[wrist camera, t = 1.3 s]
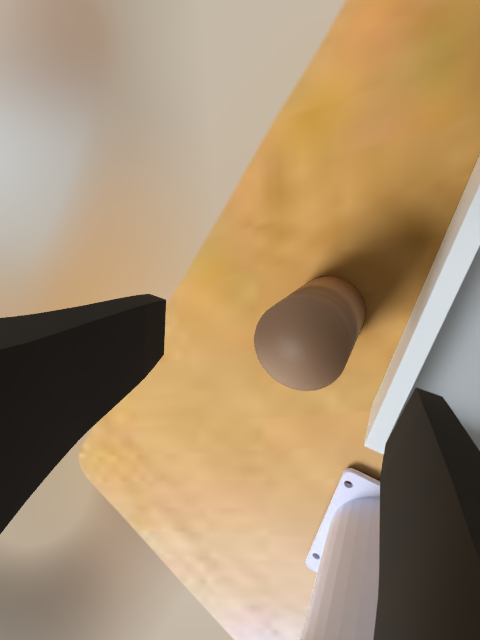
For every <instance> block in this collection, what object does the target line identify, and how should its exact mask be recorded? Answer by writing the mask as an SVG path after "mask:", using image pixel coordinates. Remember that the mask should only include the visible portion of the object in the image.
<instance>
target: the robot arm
mask: <svg viewBox="0 0 480 640" xmlns="http://www.w3.org/2000/svg"><path fill="white" fill-rule="evenodd" d="M165 312H166V300H165V299H162V298H159V297H156V296H153V295H150V294H145V295H136V296H130V297H124V298H119V299H114V300H109V301H104V302H99V303H94V304H89V305H84V306H79V307H73V308H67V309H62V310H56V311H50V312H44V313H38V314H31V315H24V316H17V317H6V318H0V534H1V532H2V531H3V530H4V529H5V527H6V526H7V525H8V523H9V522H10V521H11V520H12V519H13V517H14V516H15V515H16V513H17V512H18V511H19V510H20V508H21V507H22V506H23V505H24V503H25V502H26V500H27V499H28V498H29V497H30V496H31V495H32V493H33V492H34V491H35V490H36V489H37V487H38V486H39V485H40V484H41V483H42V481H43V480H44V479H45V478H46V477H47V476H48V474H49V473H50V472H51V471H52V470H53V468H54V467H55V466H56V465H57V464H58V463H59V462H60V460H61V459H62V458H63V457H64V456H65V455H66V454H67V453H68V452H69V450H70V449H71V448H72V447H73V446H74V445H75V444H76V443H77V441H78V440H79V439H80V438H81V437H82V436H83V435H84V434H85V433H86V432H87V431H88V430H89V429H90V428H91V427H93V426H94V425H95V424H96V423H97V422H98V421H99V420H100V419H101V418H102V417H103V416H105V415H106V414H107V413H108V412H109V411H110V410H111V409H112V408H113V407H114V406H115V405H117V404H118V403H119V402H120V401H121V400H122V399H123V398H124V397H125V396H126V395H127V394H128V393H129V392H131V391H132V390H133V389H134V388H135V387H136V386H137V385H138V384H139V383H140V382H141V381H142V380H143V379H144V378H145V377H146V376H147V375H148V374H149V372H150V371H151V370H152V369H153V368H154V366H155V365H156V364H157V362H158V361H159V360H160V359H161V357H162V356H163V355H164V336H165ZM346 481H350V482H351V483H352V484H349V483H347V482H346ZM306 565H307V567H308V568H310V569H311V570H313V571H314V572H316V573H317V576H316V580H315V583H314V587H313V591H312V595H311V599H310V603H309V607H308V610H307V614H306V618H305V622H304V626H303V630H302V634H301V637H300V640H480V450H479V449H478V448H477V446H476V445H475V443H474V442H473V440H472V439H471V437H470V436H469V434H468V433H467V431H466V430H465V428H464V427H463V425H462V424H461V422H460V421H459V419H458V418H457V417H456V415H455V414H454V412H453V411H452V409H451V408H450V406H449V405H448V403H447V402H446V401H445V399H444V398H443V397H442V396H439V395H436V394H434V393H431V392H428V391H425V390H422V389H419V388H415V390H414V392H413V393H412V395H411V397H410V399H409V401H408V403H407V405H406V406H405V408H404V410H403V412H402V414H401V416H400V418H399V419H398V421H397V423H396V425H395V427H394V429H393V431H392V433H391V434H390V436H389V438H388V440H387V442H386V444H385V450H384V457H383V463H382V471H381V478H380V481H378V480H376V479H374V478H372V477H370V476H368V475H366V474H364V473H361V472H359V471H357V470H355V469H353V468H347V469H345V470H344V472H343V474H342V477H341V479H340V481H339V484H338V486H337V488H336V490H335V493H334V495H333V497H332V500H331V502H330V504H329V507H328V509H327V511H326V514H325V516H324V518H323V521H322V523H321V525H320V528H319V530H318V532H317V535H316V537H315V539H314V541H313V544H312V546H311V548H310V551H309V553H308V555H307V558H306Z"/></svg>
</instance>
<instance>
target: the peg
mask: <svg viewBox="0 0 480 640" xmlns="http://www.w3.org/2000/svg"><path fill="white" fill-rule="evenodd" d="M365 315H366V309H365V303H364V300H363V298H362V296H361V294H360V292H359V291H358V290H357V289H356V288H355V287H354V286H353V285H352V284H351V283H349V282H348V281H346V280H344V279H341V278H338V277H333V276H324V277H319V278H316V279H313V280H311V281H310V282H308V283H306V284H305V285H304V286H302V287H301V288H299V289H298V290H296V291H295V292H293V293H292V294H290V295H289V296H287V297H286V298H284V299H283V300H281V301H280V302H278V303H277V304H275V305H274V306H272V307H271V308H270V309H268V310H267V311H266V312H265V313H264V314H263V315H262V317H261V318H260V320H259V322H258V324H257V327H256V330H255V335H254V344H255V350H256V354H257V357H258V359H259V361H260V363H261V365H262V367H263V368H264V369H265V371H266V372H267V373H268V374H269V375H270V376H271V377H272V378H273V379H274V380H276V381H277V382H279V383H280V384H282V385H284V386H286V387H289V388H291V389H295V390H301V391H313V390H318V389H321V388H324V387H326V386H328V385H330V384H331V383H333V382H334V381H335V380H336V379H337V378H338V377H339V376H340V375H341V373H342V372H343V370H344V368H345V365H346V363H347V361H348V358H349V356H350V354H351V351H352V349H353V347H354V344H355V342H356V340H357V337H358V335H359V333H360V330H361V328H362V326H363V323H364V320H365Z"/></svg>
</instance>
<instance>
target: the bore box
mask: <svg viewBox="0 0 480 640" xmlns="http://www.w3.org/2000/svg"><path fill="white" fill-rule="evenodd" d="M415 388H419V389H422V390H425V391H428V392H431V393H434V394H436V395H439V396H442V397H443V398H444V399H445V401H446V402H447V403H448V405H449V406H450V408H451V409H452V411H453V412H454V414H455V415H456V417H457V418H458V419H459V421H460V422H461V424H462V425H463V427H464V428H465V430H466V431H467V433H468V434H469V436H470V437H471V439H472V440H473V442H474V443H475V445H476V446H477V448H478V449H479V450H480V155H479V157H478V160H477V162H476V164H475V167H474V169H473V171H472V174H471V176H470V178H469V181H468V183H467V185H466V188H465V190H464V192H463V195H462V197H461V199H460V202H459V204H458V206H457V209H456V211H455V213H454V216H453V218H452V220H451V222H450V225H449V227H448V229H447V232H446V234H445V236H444V239H443V241H442V243H441V246H440V248H439V250H438V253H437V255H436V257H435V260H434V262H433V264H432V267H431V269H430V271H429V274H428V276H427V278H426V281H425V283H424V285H423V287H422V290H421V292H420V294H419V297H418V299H417V301H416V304H415V306H414V308H413V311H412V313H411V315H410V318H409V320H408V322H407V325H406V327H405V329H404V332H403V334H402V336H401V339H400V341H399V343H398V346H397V348H396V350H395V352H394V355H393V357H392V359H391V362H390V364H389V366H388V369H387V371H386V373H385V376H384V378H383V380H382V383H381V385H380V387H379V390H378V392H377V394H376V397H375V399H374V401H373V404H372V407H371V412H370V417H369V422H368V427H367V432H366V437H365V442H364V446H366V447H368V448H370V449H372V450H374V451H377V452H379V453H381V454H383V455H384V450H385V444H386V442H387V440H388V438H389V436H390V434H391V433H392V431H393V429H394V427H395V425H396V423H397V421H398V419H399V418H400V416H401V414H402V412H403V410H404V408H405V406H406V405H407V403H408V401H409V399H410V397H411V395H412V393H413V392H414V390H415Z"/></svg>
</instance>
